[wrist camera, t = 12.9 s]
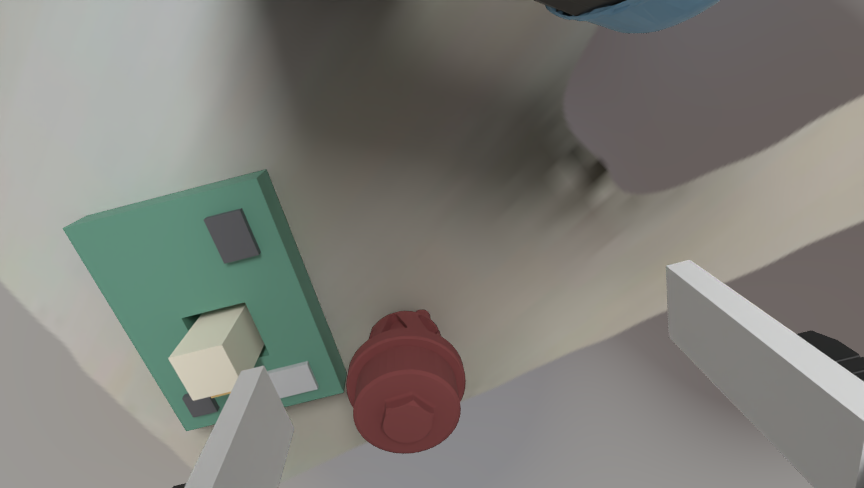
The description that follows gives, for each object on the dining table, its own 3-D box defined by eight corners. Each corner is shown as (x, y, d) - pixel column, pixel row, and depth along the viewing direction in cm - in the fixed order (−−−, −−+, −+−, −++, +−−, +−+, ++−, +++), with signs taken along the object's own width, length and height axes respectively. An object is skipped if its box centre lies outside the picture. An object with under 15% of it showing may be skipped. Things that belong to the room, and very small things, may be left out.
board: (86, 215, 39) (57, 231, 36) (266, 169, 38) (254, 180, 35) (198, 409, 47) (183, 435, 44) (346, 372, 47) (342, 396, 44)
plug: (207, 306, 43) (168, 358, 36) (251, 294, 43) (221, 344, 36) (228, 346, 45) (195, 404, 38) (271, 336, 45) (246, 391, 37)
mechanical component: (333, 338, 45) (399, 269, 43) (409, 388, 48) (474, 327, 46) (313, 432, 34) (401, 346, 32) (413, 491, 37) (500, 416, 35)
